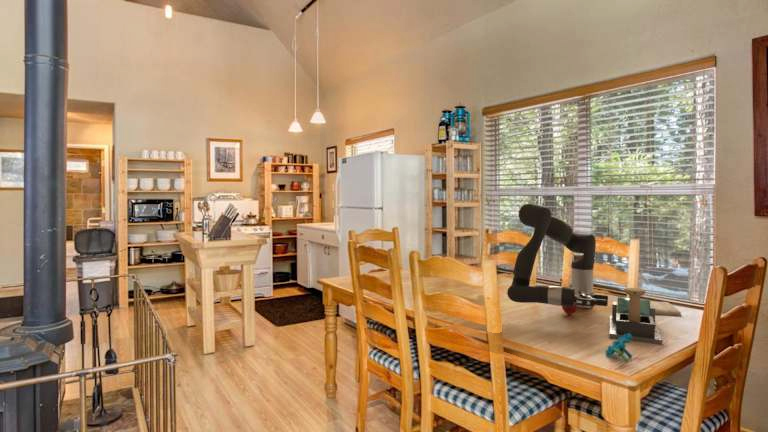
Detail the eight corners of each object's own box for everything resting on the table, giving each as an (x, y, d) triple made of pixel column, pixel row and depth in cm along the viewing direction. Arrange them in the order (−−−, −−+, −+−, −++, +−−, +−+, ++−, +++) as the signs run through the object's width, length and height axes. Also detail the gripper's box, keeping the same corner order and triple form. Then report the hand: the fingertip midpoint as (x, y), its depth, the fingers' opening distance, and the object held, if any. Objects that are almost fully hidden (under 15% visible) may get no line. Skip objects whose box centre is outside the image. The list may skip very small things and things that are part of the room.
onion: (576, 314, 192) (576, 295, 192) (577, 317, 187) (577, 298, 187) (561, 312, 194) (562, 294, 194) (562, 316, 189) (562, 297, 188)
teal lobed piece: (606, 343, 150) (630, 327, 145) (620, 358, 148) (645, 341, 143) (600, 358, 141) (626, 341, 136) (615, 373, 139) (642, 357, 134)
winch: (609, 337, 161) (610, 309, 161) (610, 318, 186) (610, 294, 186) (661, 344, 154) (662, 315, 153) (655, 323, 179) (656, 298, 178)
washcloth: (668, 307, 206) (668, 300, 206) (682, 317, 189) (682, 310, 189) (639, 305, 210) (639, 298, 209) (650, 315, 192) (650, 308, 192)
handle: (644, 333, 161) (645, 291, 160) (623, 331, 164) (624, 290, 163) (643, 329, 165) (644, 289, 164) (623, 327, 168) (624, 287, 167)
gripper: (559, 290, 169) (607, 294, 162) (563, 283, 182) (608, 287, 174) (559, 309, 169) (607, 315, 162) (562, 301, 182) (607, 306, 175)
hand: (607, 300), depth 168 cm, fingers open, 8 cm apart
